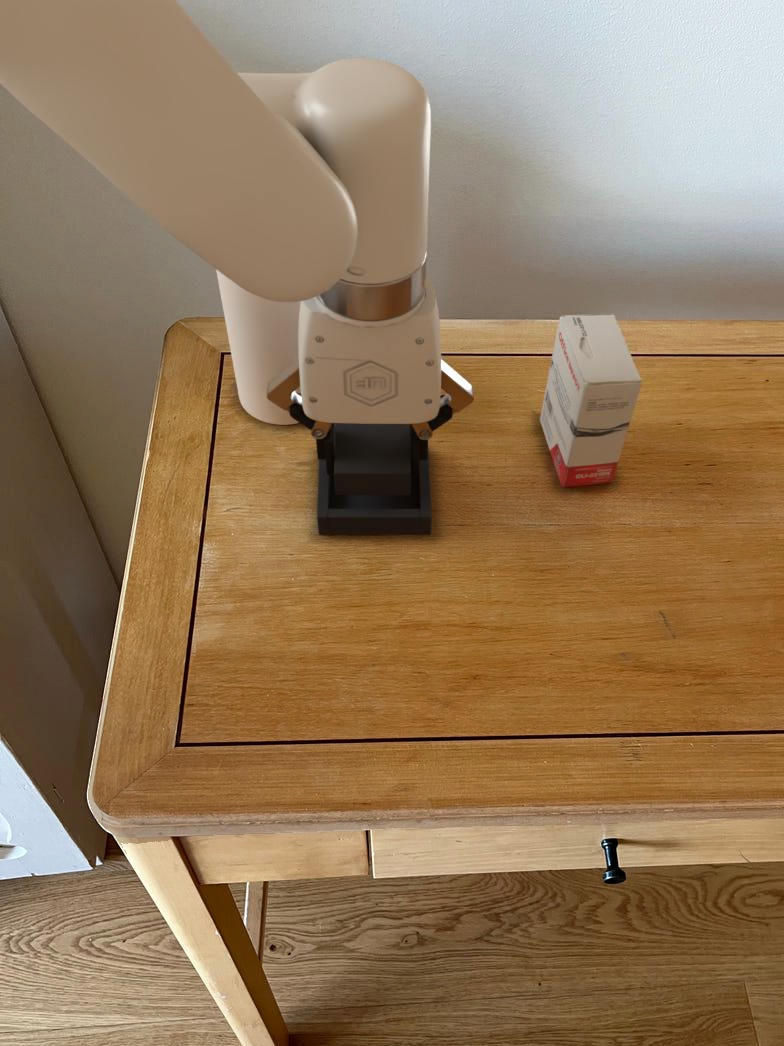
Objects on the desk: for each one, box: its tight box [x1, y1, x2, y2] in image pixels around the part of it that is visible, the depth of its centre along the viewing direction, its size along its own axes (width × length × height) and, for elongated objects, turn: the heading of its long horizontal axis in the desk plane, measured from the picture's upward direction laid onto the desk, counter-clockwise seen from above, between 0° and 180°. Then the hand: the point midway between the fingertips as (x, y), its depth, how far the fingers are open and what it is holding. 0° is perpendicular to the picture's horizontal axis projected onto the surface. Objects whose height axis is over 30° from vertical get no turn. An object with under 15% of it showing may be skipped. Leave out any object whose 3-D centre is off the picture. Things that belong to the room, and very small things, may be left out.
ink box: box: [539, 313, 643, 488], centre depth 81 cm, size 8×5×12 cm, turn 12°
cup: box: [215, 269, 315, 426], centre depth 81 cm, size 8×8×16 cm
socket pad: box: [316, 449, 433, 536], centre depth 81 cm, size 9×9×2 cm
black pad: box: [334, 423, 411, 495], centre depth 78 cm, size 6×6×3 cm
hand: (372, 461), depth 78 cm, fingers closed on black pad, 6 cm apart
